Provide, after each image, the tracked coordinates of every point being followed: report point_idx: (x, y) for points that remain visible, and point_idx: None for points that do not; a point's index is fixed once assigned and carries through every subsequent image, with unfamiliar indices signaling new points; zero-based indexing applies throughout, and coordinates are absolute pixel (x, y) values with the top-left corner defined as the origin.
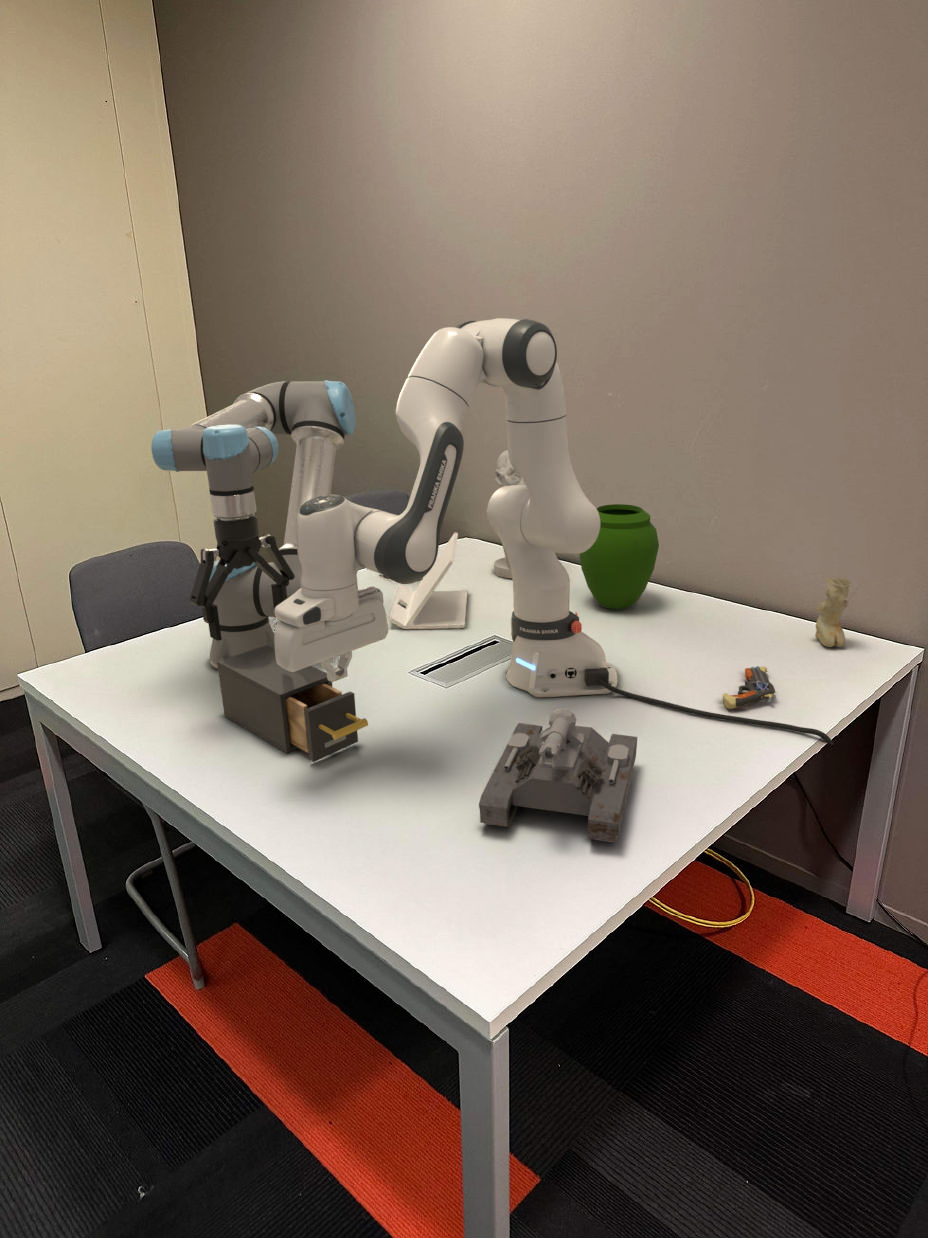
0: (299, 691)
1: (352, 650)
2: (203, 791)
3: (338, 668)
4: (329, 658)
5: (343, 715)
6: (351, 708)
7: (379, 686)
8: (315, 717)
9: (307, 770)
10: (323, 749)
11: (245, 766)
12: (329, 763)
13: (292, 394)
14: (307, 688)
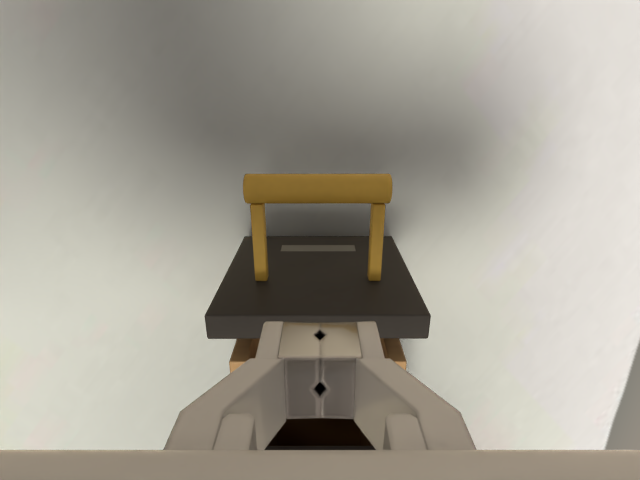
0: (349, 447)
1: (161, 450)
2: (610, 319)
3: (306, 386)
4: (486, 452)
5: (275, 279)
6: (237, 286)
7: (38, 420)
8: (394, 297)
9: (409, 230)
10: (359, 244)
11: (485, 341)
12: (351, 218)
13: None
14: (314, 447)
